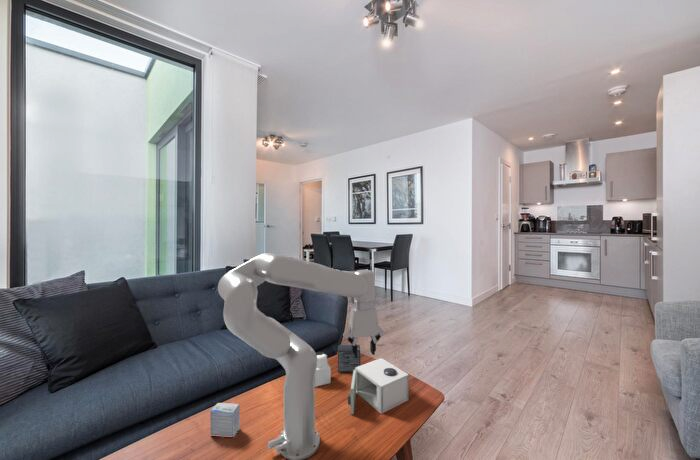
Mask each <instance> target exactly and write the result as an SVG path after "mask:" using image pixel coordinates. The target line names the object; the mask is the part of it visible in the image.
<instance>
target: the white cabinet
mask: <svg viewBox="0 0 700 460" xmlns="http://www.w3.org/2000/svg"><path fill="white" fill-rule="evenodd" d="M355 370H356V395H358V396H360V397H361V398H362V399H363V400H364V401H366V402H367V403H368V404H369V405H370V406H371V407H372V408H374V409H375V410H376V411H378V413H380V414H384V413H386V412H387V411H389V410H391V409H394V408H396V407H398V406H399V405H401V404H403V403H406V402H407V401H409V396H410V395H409V388H410V387H409V385H410V384H409V381H410V379H409V378H410V377H409V373H407V372H406V371H404V370H402V369H400V368H398V367H397V366H396V365H393V364H392V363H390V362H388V361H387V360H385V359H384V358H382V357H380V358H377V359H375V360H372V361H370V362H367V363H364V364H360V366H358V367H355Z"/></svg>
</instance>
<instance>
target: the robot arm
mask: <svg viewBox="0 0 700 460" xmlns="http://www.w3.org/2000/svg"><path fill="white" fill-rule="evenodd" d="M264 282H267V283H270V284H274V285H278V286H286V287H293V288H299V289H304V290H309V291H314V292H319V293H325V294H331V295H336V296H342V297H346V298H353V306H352V307H351V309H350V314H349V323H348V324H349V325H348V327H347V329H346V330H345V331H344V332H343V333H342V336H343V338H345V339H346V340H347V342H349V343H350V345H352V353H353V354H354V356H355V357H357V345H358V344H357V342H358V339H359V338H368V337H369V338H371V340H370V342H369V343H370V348H369V351H370V353H371V355H373V356H374V355H376V354H375V353H376V351H377V343H378V341H379V340H380V339H381V337H382V336H383V335H384V334H385V331H384V329H382V327H380V325H379V318H378V311H377V308H376V305H378V304H379V301H378V300H375V273H374V271H373V270H370V269H357V270H351V271H350V270H339V269H336V268H332V267H329V266H326V265H323V264H320V263H318V262H317V263H316V262H313V261H308V260H304V259H299V258H295V257H292V256H287V255H281V254H277V253H274V252H264V253H260V254H259V255H257V256H255V257H253V258H251V259H249V260H248V261H246V262H244V263H243V264H241V265H239V266H237V267H235V268H233V269H231V270H229V271H228V272H226V273H225V274H224V275H223V276H222V277H221V278H220V279H219V281H218V284H217V292H218V294H219V296H220V298H221V299H222V300H224V303H223V304H224V305H223V311H222V312H223V313H222V316H223V322H224V324H225V326H226V328H227V329H228V331H229V332H230V333H231V334H233V335H234V336H236V338H239V339H240V340H242V341H243V343H245V344H247V345H248V346H250V347H251V348H253V349H254V350H256V351H257V352H258V353H259V354H261V355H262V356H264V357H266V358H269V359H274V360H276V361H278V363H279V364H280V365H281V367H282V368H283V369H284V370H285V379H284V383H283V395H282V396H283V429H282V430H280V435H278V436H277V438H274V439H272V440H269V441H268V442H267V447H268V450H271V449H274V452H275V453H278V452H279V453H280V455H281V456H282V457H283V458H284V459H287V460H305V459H307V458H310V457H311V456H312V455H314V454H315V453H316V452H317V450H319V446H320V444H321V441H320V440H321V437H320V434H319V432H318V431H317V429H316V426H315V425H316V415H315V414H316V411H315V410H316V406H315V405H316V399H315V398H316V396H315V395H316V392H315V391H316V390H315V389H316V387H315V374H316V369H317V356H316V353H317V352H316V351H315V350H314V348H313V347H312V346H311V345H309V344H308V343H307V342H306V341H305V340H303V339H302V338H300V337H299V336H298V335H296V333H294V332H293V331H291V330H290V329H289V328H287V327H285V326H284V325H283V324H281V323H280V321H277V320H276V319H275V318H273V317H270V316H267V315H265V313H263V312H262V311H261V310H259V308H258V305H257V301H258V300H257V299H258V294H259V291H258V286H260V285H261V284H263V283H264ZM349 334H351V336H350V335H349Z"/></svg>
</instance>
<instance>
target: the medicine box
mask: <svg viewBox="0 0 700 460" xmlns="http://www.w3.org/2000/svg"><path fill="white" fill-rule="evenodd" d="M240 410H241V409H240V404H238V403H230V402H229V403H227V402H217V403H216V404H215V405H214V406H213V407H212V408H211V410H210V412H209V413H210V414H209V415H210V416H209V417H210V418H209V419H210V436H211V435H221V436H232V437H234V436H235V434H236V433H238V432H239V431H240V429H241V422H240V421H241V420H240V419H241V416H240V414H241V413H240ZM239 428H240V429H239ZM238 430H239V431H238ZM237 431H238V432H237ZM236 435H237V434H236ZM235 437H236V436H235ZM235 437H234V438H235Z"/></svg>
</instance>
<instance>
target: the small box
mask: <svg viewBox="0 0 700 460" xmlns="http://www.w3.org/2000/svg"><path fill="white" fill-rule="evenodd" d="M356 345H357V357H355V356H354V354H353V353H352V344H338V346H337V373H338V374H339V373H341V374H342V373H353V371H354V370H355V367H358V366H361V345H360V344H356Z"/></svg>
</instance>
